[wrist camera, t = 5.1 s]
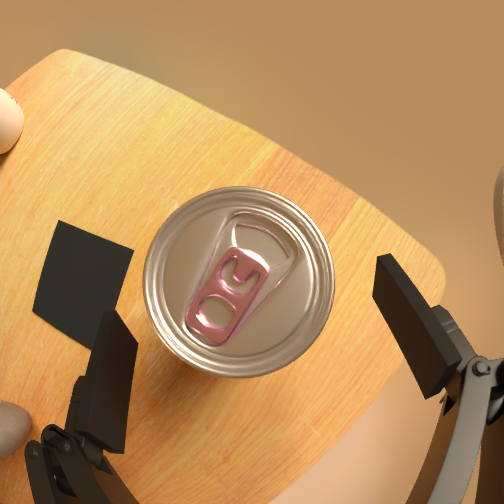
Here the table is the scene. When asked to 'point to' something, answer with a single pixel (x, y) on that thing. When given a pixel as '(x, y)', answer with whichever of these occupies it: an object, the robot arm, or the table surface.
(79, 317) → the table mark
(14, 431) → the smooth grey egg stone
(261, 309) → the beverage can
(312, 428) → the table surface
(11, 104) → the mug
